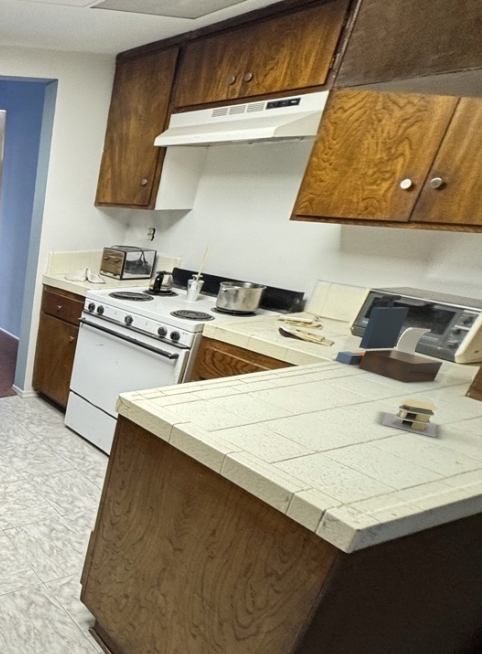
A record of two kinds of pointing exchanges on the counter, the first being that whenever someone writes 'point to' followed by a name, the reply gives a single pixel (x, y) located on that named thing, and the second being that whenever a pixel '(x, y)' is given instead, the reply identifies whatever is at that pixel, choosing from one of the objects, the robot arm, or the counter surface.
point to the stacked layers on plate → (413, 417)
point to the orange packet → (360, 354)
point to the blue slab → (384, 325)
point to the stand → (400, 365)
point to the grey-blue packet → (349, 357)
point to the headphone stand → (410, 339)
